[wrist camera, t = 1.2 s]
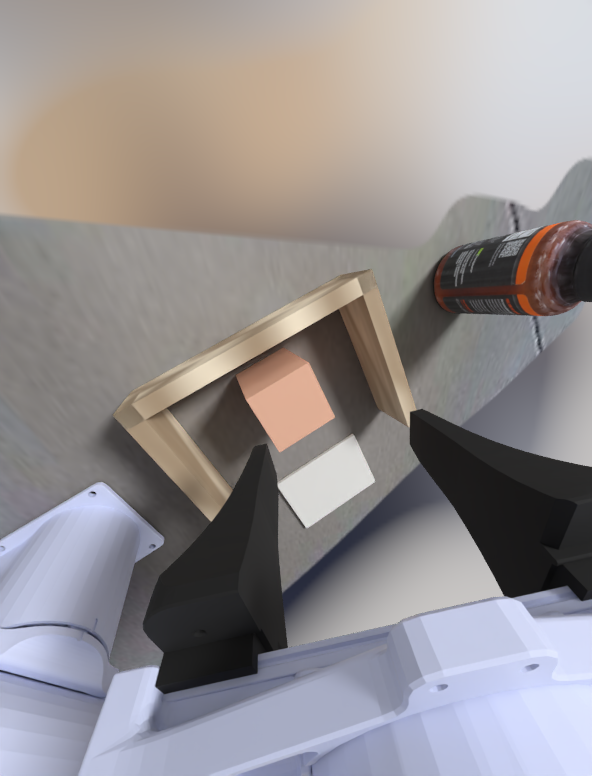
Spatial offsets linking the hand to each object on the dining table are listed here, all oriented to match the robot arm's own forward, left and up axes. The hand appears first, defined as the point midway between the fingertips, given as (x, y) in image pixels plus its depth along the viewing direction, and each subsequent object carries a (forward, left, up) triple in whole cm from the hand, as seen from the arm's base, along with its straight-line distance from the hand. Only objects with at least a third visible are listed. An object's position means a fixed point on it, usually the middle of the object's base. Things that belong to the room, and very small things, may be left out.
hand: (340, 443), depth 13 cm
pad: (-1, -12, -11) cm, 16 cm away
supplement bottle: (+19, 0, -11) cm, 22 cm away
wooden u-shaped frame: (-1, -1, -11) cm, 11 cm away
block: (-1, 0, -11) cm, 11 cm away
